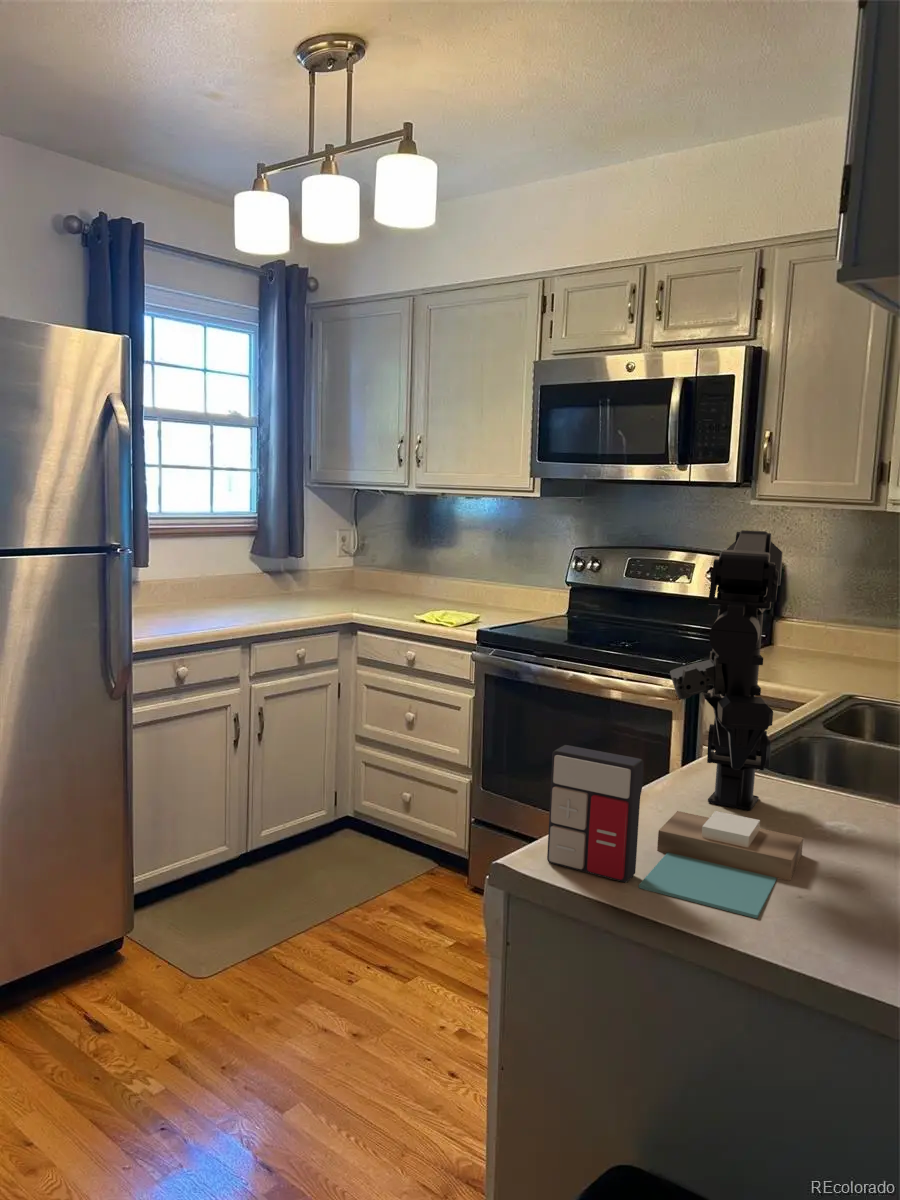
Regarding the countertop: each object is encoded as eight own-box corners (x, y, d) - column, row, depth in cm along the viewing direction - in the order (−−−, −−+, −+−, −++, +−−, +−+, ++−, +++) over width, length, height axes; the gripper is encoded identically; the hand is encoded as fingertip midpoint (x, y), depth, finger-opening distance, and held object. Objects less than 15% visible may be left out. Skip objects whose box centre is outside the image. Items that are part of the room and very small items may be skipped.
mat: (667, 855, 119) (667, 852, 119) (776, 881, 112) (776, 878, 112) (638, 887, 109) (638, 884, 109) (757, 918, 102) (757, 915, 102)
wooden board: (676, 831, 128) (677, 810, 128) (801, 858, 119) (803, 837, 119) (657, 851, 120) (658, 830, 120) (789, 883, 112) (791, 860, 111)
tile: (714, 821, 124) (715, 810, 124) (759, 830, 121) (760, 820, 121) (701, 837, 118) (702, 826, 118) (748, 847, 115) (749, 836, 115)
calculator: (544, 864, 115) (549, 751, 113) (557, 853, 118) (563, 743, 117) (625, 886, 109) (632, 767, 107) (637, 873, 113) (644, 759, 111)
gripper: (668, 630, 129) (661, 734, 132) (685, 657, 111) (678, 777, 113) (747, 633, 128) (739, 738, 130) (778, 661, 110) (768, 783, 112)
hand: (729, 757), depth 121 cm, fingers open, 9 cm apart
